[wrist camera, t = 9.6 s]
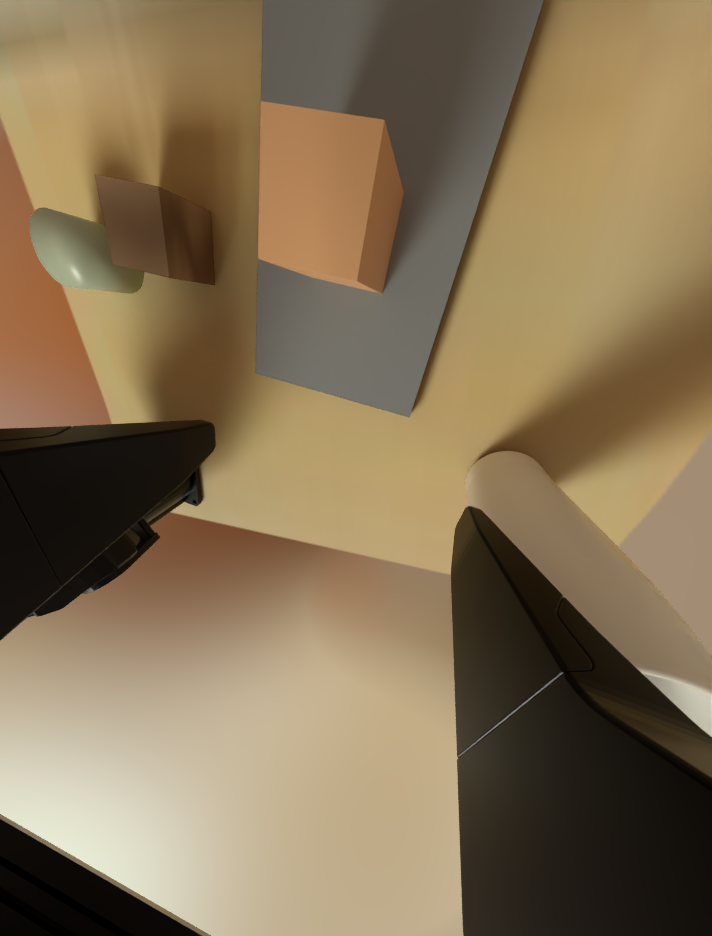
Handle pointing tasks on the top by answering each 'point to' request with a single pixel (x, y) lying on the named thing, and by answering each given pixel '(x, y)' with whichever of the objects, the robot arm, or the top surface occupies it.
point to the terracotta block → (327, 195)
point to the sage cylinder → (79, 253)
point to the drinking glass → (594, 577)
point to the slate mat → (419, 165)
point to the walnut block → (156, 230)
